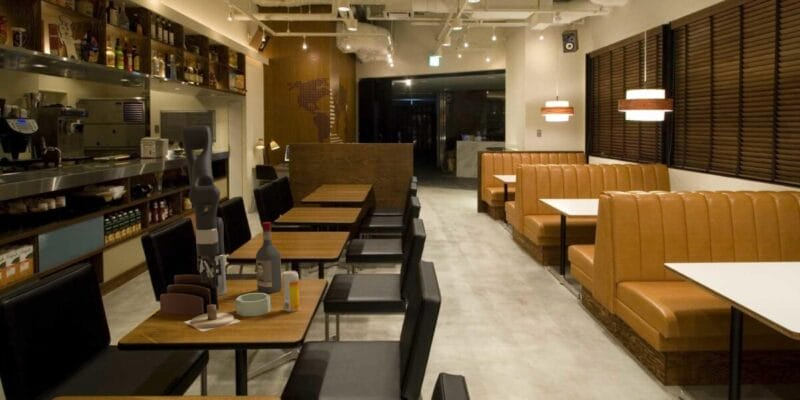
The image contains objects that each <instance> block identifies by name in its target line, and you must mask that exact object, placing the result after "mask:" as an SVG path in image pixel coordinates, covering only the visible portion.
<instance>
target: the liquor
mask: <svg viewBox="0 0 800 400" xmlns="http://www.w3.org/2000/svg"><path fill="white" fill-rule="evenodd" d="M262 236H263V237H262V238H263V242H262V246H261V247H260V248H259V249H258V250H257V252H256V255H255V263H256V264H255V267H256V283H257V287H256V288H257V291H258V293H265V294H274V293H277V292H280V291H282V289H283V281H282V265H281V264H282V263H281V252H280V250H279V249H278V248H277V247H276V246H275V245H274V244H273V241H272V222H271V221H265V222H262Z"/></svg>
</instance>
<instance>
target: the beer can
mask: <svg viewBox="0 0 800 400" xmlns="http://www.w3.org/2000/svg"><path fill="white" fill-rule="evenodd" d="M281 280H282V297H283V310H284V311H285V312H287V313H289V312H290V313H291V312H293V313H294V312H297V311H299V309H300V307H301V306H300V304H301V303H300V285H299V280H300V279H299V274H298V271H296V270H287V271H283V272H282V274H281Z"/></svg>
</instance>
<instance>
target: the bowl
mask: <svg viewBox="0 0 800 400" xmlns="http://www.w3.org/2000/svg"><path fill="white" fill-rule="evenodd" d="M271 310H272V303H271V294H269V293H262V292H250V293H246V294H241V295H239V296H237V298H235V311H236V312H235V313H236V315H239V316H241V317H257V316H261V315H265V314H268V313H269V312H270V311H271Z"/></svg>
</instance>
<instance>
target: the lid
mask: <svg viewBox="0 0 800 400" xmlns="http://www.w3.org/2000/svg"><path fill="white" fill-rule="evenodd" d="M234 318H235V317H234V315H233V314H231V313H229V312H217V310H216V305H215V304H212V305H208V306H207V314H203V315H200V316H194V317H193V318H192V319H190V320H191V327H192V326H193V327H192V328H194V327H195V329H196V328H214V329H217V328H216V327H218V328H221V326H222V327H225V325H226V326H228V325H227V324H230V323H231V322H233V320H234ZM230 325H231V324H230Z"/></svg>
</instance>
